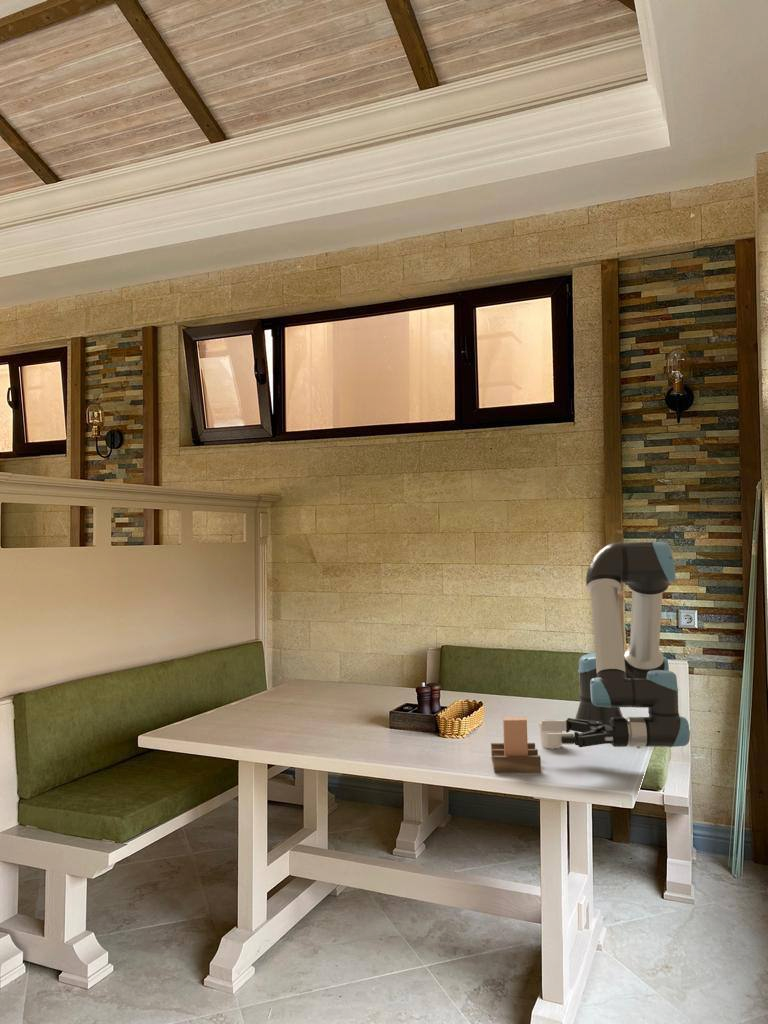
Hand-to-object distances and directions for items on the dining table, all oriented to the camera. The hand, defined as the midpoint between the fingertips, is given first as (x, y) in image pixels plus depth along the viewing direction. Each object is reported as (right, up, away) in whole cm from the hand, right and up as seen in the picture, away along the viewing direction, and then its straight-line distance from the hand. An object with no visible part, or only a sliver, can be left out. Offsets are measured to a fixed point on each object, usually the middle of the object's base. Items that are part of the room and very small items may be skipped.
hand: (544, 732), depth 208 cm
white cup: (+6, -10, +21) cm, 24 cm away
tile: (-7, -9, +1) cm, 11 cm away
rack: (-7, -10, +4) cm, 13 cm away
